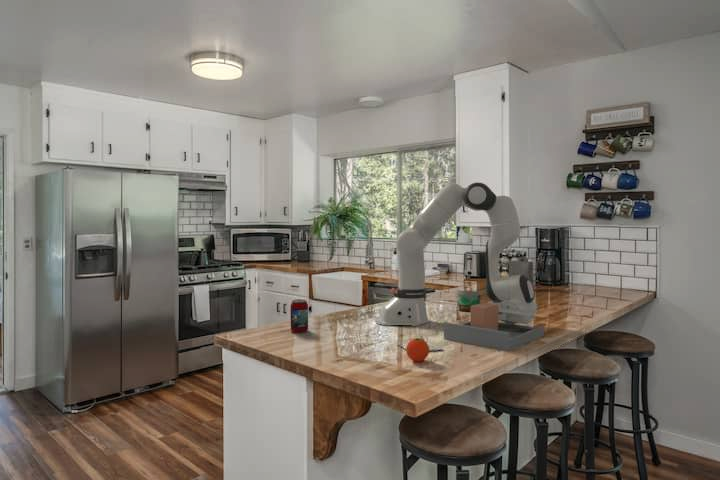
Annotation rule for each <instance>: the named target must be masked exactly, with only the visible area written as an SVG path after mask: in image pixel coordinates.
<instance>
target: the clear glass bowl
mask: <svg viewBox="0 0 720 480" xmlns="http://www.w3.org/2000/svg"><path fill="white" fill-rule="evenodd" d="M418 338H421V339H422V340H424V341H425V342H426V343H429V344H430V345H429V344H428V345H429V346H431V345H433V346H434V347H435V348H434V347H433V348H434V349H429V352H436V351H437V352H438V350H440V351H443V350H444V348H443V347H440V345H438V344H436V343H434V342H432V341H430V340H425V339H424V336H423V335H421V334H420V335H419V337H418ZM409 342H410V341H405V342H404V343H409ZM396 343H397V345H399V346H400V347H402V348H403V349H405V350H406V348H407V347H404V345H400V344H401V343H402V342H396ZM436 348H437V349H436Z"/></svg>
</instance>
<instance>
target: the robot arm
mask: <svg viewBox="0 0 720 480" xmlns="http://www.w3.org/2000/svg"><path fill="white" fill-rule="evenodd" d="M462 207H466V208H468V209H470V210H473V211H477V212H480V211H483V212H485V213H486V214H487V215H488V218H489V225H490V237H489V238H488V240H486V243H485V268H486V269H485V271H486V272H485V273H486V274H485V275H486V277H485V278H486V282H485V294H486V297H487V298H488V299H489V300H490V302H489V303H493V304H498V321H499V322H502V323H507V324H515V325H517V324H526V325H527V324H530V323H532V321H533V319H535V318H537V315H536V313H537V311H538V304H537V302H536V300H535V294H536V293H535V286H534V283H532V282H531V280H530V279H529V278H528V277H527V276H525V275H515V276H509V275H508V276H500V267H499V266H500V263H499V259H500V258H499V257H500V254H501V253H502V252H503V251H504V250H505V249H508V248H509V247H510V246H512V245H513V244H514V243H516V241H518V240H519V237H520V235H521V225H520V221H519V215H518V212H517V208H516V205H515V203H514V201H513V199H512V198H511V197H510V196H507V195H496V194H495V193H494V192H493V191H492V189H491V188H490V187H489V186H488V185H487V184H485V183H483V182H474V183H471V184H469V185H468V186H467V187H462V186H461V185H460V184H458V183H455V182H450V183H447V184H445V185H444V186H443V187H442V188H441V189H440V190H439V191H438V192H437V193H436V194H435V195H434V196H433V197H432V198H431V199H430V200H429V202H427V204H426V205H425V206H424V207H423V209H421V211H419V213H418V215H417V216H416V217H415V218H414V220H413V221H412V223H411V224H410V225H409V227H407V229H404V230H403V231H401V232H400V233H399V235H397V238H396V257H397V258H396V259H397V270H398V287H397V288H395V287H392V288H391V293H393V297H391V299H389V300H388V301H387V302H386V303H385V302H384V304H383V305H382V306H381V309H380V314H379V316H377V317H375V318H374V322H375V321H376V322H377V323H379V324H383V325H382V326H391V325H412V326H411V327H418V326H420V325H423V324H427V323H428V322H429V318H428V313H427V308H426V307H427V306H426V301H427V288H426V286H425V285H426V284H425V283H426V281H425V280H426V278H425V277H426V274H425V273H426V271H425V270H426V268H425V253H424V249H425V248H426V247H427V246H428V245H429V244H430V243H431V242H432V241H433V239H434V237H436V236H437V235H438V233H439V232H440V231H441V230H442V228H443V227H444V226H445V225H446V224H447V222H449V221H450V219H451V218H452V217H453V216H454V215H455V213H456V212H458V210H459V209H460V208H462ZM376 322H375V323H376ZM377 323H376V324H377ZM379 324H378V325H379Z"/></svg>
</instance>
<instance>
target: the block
mask: <svg viewBox="0 0 720 480" xmlns="http://www.w3.org/2000/svg"><path fill="white" fill-rule="evenodd" d="M469 313H470V315H469V318H470V320H469V322H470V326H473V327H479V328H485V329H491V330H497V331H498V322H499V320H498V304H493V303H490V302H480V304H477V305H473V306H470V312H469Z"/></svg>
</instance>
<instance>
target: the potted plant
mask: <svg viewBox="0 0 720 480" xmlns="http://www.w3.org/2000/svg"><path fill="white" fill-rule="evenodd" d="M455 294H456V295H457V306H458V311H459V312H463V313H470V306H473V305H477V304H481V297H482V295H483V291H482V290H481V289H480V290H461V289H456V291H455Z"/></svg>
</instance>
